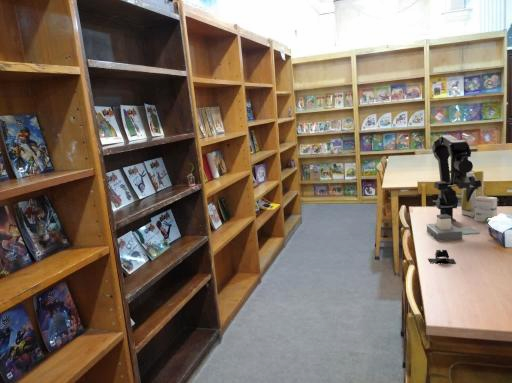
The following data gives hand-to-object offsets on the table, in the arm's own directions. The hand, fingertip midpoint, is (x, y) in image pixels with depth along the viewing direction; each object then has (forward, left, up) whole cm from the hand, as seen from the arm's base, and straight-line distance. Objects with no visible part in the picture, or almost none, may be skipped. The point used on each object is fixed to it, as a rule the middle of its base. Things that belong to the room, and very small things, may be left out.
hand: (457, 202), depth 183 cm
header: (+7, -8, -13) cm, 17 cm away
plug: (+7, -8, -13) cm, 17 cm away
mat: (+4, +3, -13) cm, 14 cm away
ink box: (-10, +18, -13) cm, 24 cm away
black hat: (+36, -20, -14) cm, 44 cm away
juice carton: (-22, +17, -13) cm, 31 cm away
